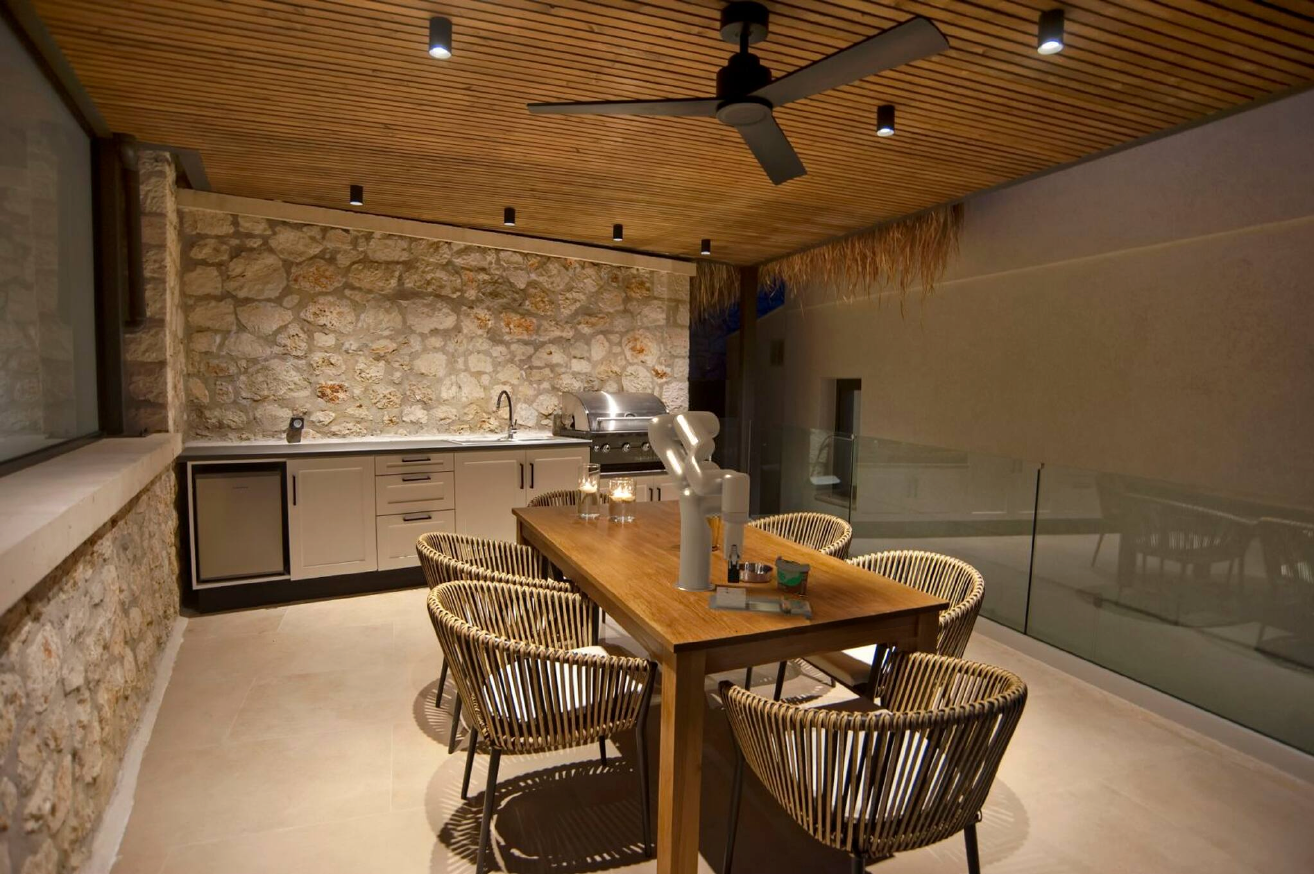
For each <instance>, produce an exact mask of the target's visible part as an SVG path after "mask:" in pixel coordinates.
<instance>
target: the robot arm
mask: <svg viewBox="0 0 1314 874" xmlns="http://www.w3.org/2000/svg"><path fill="white" fill-rule="evenodd" d="M720 427H721V426H720V422H719V418H718V417H717V416H716V415H715V413H713V412H711V411H703V410H702V411H700V410H698V411H697V410H695V411H693V410H692V411H690V410H688V411H682V412H680V413H663V414H658V415H655V416H653V417H651V418H650V420H649V422H648V425H647V435H648V441H649V443H650V446H651V448H652V450H653V451H654V453H655V454H656V456H657V457H658V459H660V461H661V462H662V464H663V466H664V467H665V470H666V473H667V474H668V476H669V478H670V480H671V482H672V485H674V487H675V488H676V489H677V490H678V491H680V493H679V497H678V506H679V507H678V508H679V513H680V546H679V547H680V549H679V550H680V551H679V552H680V553H679V572H678V573H679V575H678V580H676V581H675V582H673V587H675V588H676V589H678V590H682V591H686V592H695V593H702V592H709V591H712V590H714V589H715V588H716V585H715V584H714V583H713V582H711V577H712V576H711V571H712V551H713V549H712V547H713V545H712V544H713V530H712V527H711V525H710V523H708V520H707V518H710V517H721V519H720V520H721V521H720V522H721V523H722V524H724V530H723V531H724V535H723V560H724V561H725V560H727V583H728V584H740V574H741V573H740V572H741V569H740V561H741V560H742V557H743V552H744V551H743V550H744V538H745V537H744V536H745V525H748V524H749V522H750V521H749V520H750V519H749V514H750V512H749V511H750V491H751V490H750V488H751V487H750V486H751V483H750V482H751V481H750V480H751V479H750V478H751V477H750V476H749V474H747V473H745V472H744V473H743V472H737V471H735V470H734V469H721V468H720V467H719V465H718V464H717V463H715V462H713V461H710V460H707V459H708V458H710V457H711V456H712V455H713V453H714V452H715V449H716V448H715V447H716V444H715V442H714V439H713V438H715V437H716V436H717V435H719V432H720ZM677 441H680V442H681V443H682V445H681V444H680V443H678V442H677Z"/></svg>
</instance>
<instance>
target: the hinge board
mask: <svg viewBox="0 0 1314 874" xmlns="http://www.w3.org/2000/svg"><path fill="white" fill-rule="evenodd" d="M716 595H717V594H711V593H710V594H709V602H708V608H707V609H708V610H714V611H716V610H717V611H718V610H719V611H728V612H745V613H756V614H757V613H758V614H759V613H760V614H770V615H771V614H772V615H784V616H786V615H787V616H798V617H799V616H801V617H802V616H803V617H805V620H808V621H809V620H810V621H812V620H813V614H812V612H811V615H804V614H791V612H790V613H784V612H783V610H782V605H781V601H780V600H781V598H772V597H758V596H757V597H756V596H755V597H753V596H746V602H745V609H734V608H720V607H716ZM789 601H803V602H808V600H799V599H789Z"/></svg>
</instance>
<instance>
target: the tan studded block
mask: <svg viewBox="0 0 1314 874" xmlns="http://www.w3.org/2000/svg"><path fill="white" fill-rule="evenodd" d="M715 595H716V607H720V608H734V609H745V602H746V597H747V593H746V588H744V587H741V588H739V587H736V588H735V587H725V586H723V587H722V586H720V587H719V586H717V587H716V594H715Z"/></svg>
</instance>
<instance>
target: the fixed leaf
mask: <svg viewBox="0 0 1314 874" xmlns="http://www.w3.org/2000/svg"><path fill="white" fill-rule="evenodd" d="M780 599H781V600H780V601H781V605H782V610H783V612H784V613H790V612H791V614H804V615H811V613H812V609H811V607H810V606H811V605H810V603H809V602H808V601H807V602H803V601H804V600H802V601H789V600H790V598H789V597H788V596H786V595H782V596H781V597H780Z"/></svg>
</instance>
